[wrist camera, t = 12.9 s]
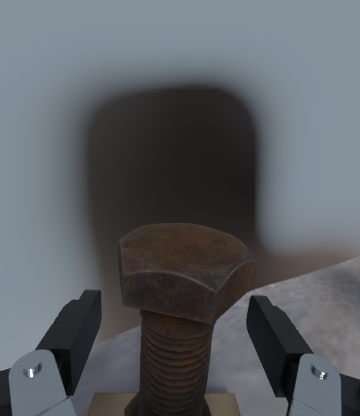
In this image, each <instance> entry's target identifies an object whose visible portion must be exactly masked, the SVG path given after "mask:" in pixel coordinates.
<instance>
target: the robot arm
mask: <svg viewBox="0 0 360 416" xmlns="http://www.w3.org/2000/svg"><path fill="white" fill-rule="evenodd" d="M101 315H102V311H101V291H100V290H84V292H83V294H82V295H81V297H80V299H79V300H72V301H70V302H69V303H68V304H66V305H65V306H64V307H63V309H62V310H61V311H60V313H59V315H58V317H57V318H56V319H55V321H54V323H53V324H52V325H51V327H50V328H49V330H48V331H47V333H46V334H45V336H44V337H43V339H42V340H41V342H40V343H39V345H38V346H37V348H36V349H35V351H32V352H30V353H28V354H26V355H25V356H23V357H21V358H20V359H19V360H18V361H16V362H15V364H14V365H13V366H12V368H10V369H7V370H3V371H0V416H76V414H75V411H74V408H73V404H72V402H71V399H70V397H67V396H73V395H74V392H75V389H76V387H77V384H78V382H79V379H80V377H81V374H82V371H83V369H84V366H85V364H86V361H87V359H88V356H89V353H90V351H91V348H92V346H93V343H94V340H95V338H96V335H97V333H98V330H99V327H100V324H101V317H102V316H101ZM246 325H247V330H248V333H249V336H250V338H251V340H252V343H253V345H254V347H255V350H256V352H257V354H258V357H259V359H260V361H261V364H262V366H263V368H264V371H265V373H266V375H267V378H268V380H269V382H270V385H271V387H272V389H273V392H274V394H275V396H276V397H286V399H287V401H288V403H289V404H288V408H287V412H286V416H360V379H356V378H353V377H350V376H346V375H343V374H340V373H338V371H337V370H336V368H335V367H334V366H333V365H332V364H331V363H330V362H328V361H327V360H325V359H324V358H322V357H320V356H318V355H315V354H314V353H313V352H312V350H311V349H310V347H309V346H308V345H307V343H306V342H305V340H304V339H303V338H302V336H301V335H300V333H299V332H298V330H296V328H295V326H294V325H293V323H291V320H290V319H289V318H288V316H287V315H286V313H285V312H283V311H282V310H281V309H280V308H278V307H277V306H273V305H272V304H271V302H270V301H269V299H268V298H267V296H257V295H252V296H251V297H250V301H249V307H248V313H247V319H246Z"/></svg>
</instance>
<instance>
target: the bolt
mask: <svg viewBox="0 0 360 416" xmlns="http://www.w3.org/2000/svg"><path fill="white" fill-rule="evenodd" d="M118 243H119V244H118V266H119V274H120V283H121V292H122V300H123V305H124V306H128V307H133V308H138V309H140V314H141V317H142V327H141V332H142V335H141V354H140V356H141V357H140V391H139V392H138V393H137V394H136V395H135V396H134V397H133V399H132V400H131V401H130V403H129V404H128V405H127V406H126V408H125V409H124V416H212V415H211V412H210V409H209V406H208V404H207V402H206V400H205V397H204V396H205V391H206V385H207V378H208V369H209V362H210V352H211V340H212V334H213V329H214V325H215V323H216V321H217V319H218V318H219V317H220V316H221V315H223V314H224V313H225V312H226V311H227V310H228V309H229V308H230V307H231V306H232V305H234V304H235V303H236V302H237V301H238V300H239V299H240V298H241V297H242V296H243V295H245V294H246V293H247V292H248V291H249V290H250V289H251V288H252V287H253V283H254V277H255V271H256V265H257V261H256V260H255V259H254V257H253V255H252V254H251V252H250V251H249V249H248V248H247V247H246V246H245V245H244V244H243V243H242V242H241V241H240V240H239V239H238V238H236V237H234V236H233V235H230V234H227V233H224V232H222V231H219V230H216V229H212V228H208V227H205V226H200V225H196V224H187V223H165V224H151V225H145V226H142V227H139V228H137V229H135V230H133V231H131V232H130V233H128V234H127V235H125V236H124V237H123V238H121V239H120V240H119V241H118Z"/></svg>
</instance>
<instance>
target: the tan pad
mask: <svg viewBox="0 0 360 416" xmlns="http://www.w3.org/2000/svg"><path fill="white" fill-rule="evenodd" d="M136 394H137V393H95V394H94V397H93V400H92V404H91V407H90V410H89V413H88V416H124V409H125V408H126V406H127V405H128V404H129V403H130V401H131V400H132V399H133V397H134V396H135V395H136ZM204 397H205V400H206V402H207V404H208V406H209V409H210V412H211V415H212V416H240V412H239V409H238V405H237V401H236V397H235V394H234V393H205V396H204Z"/></svg>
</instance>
